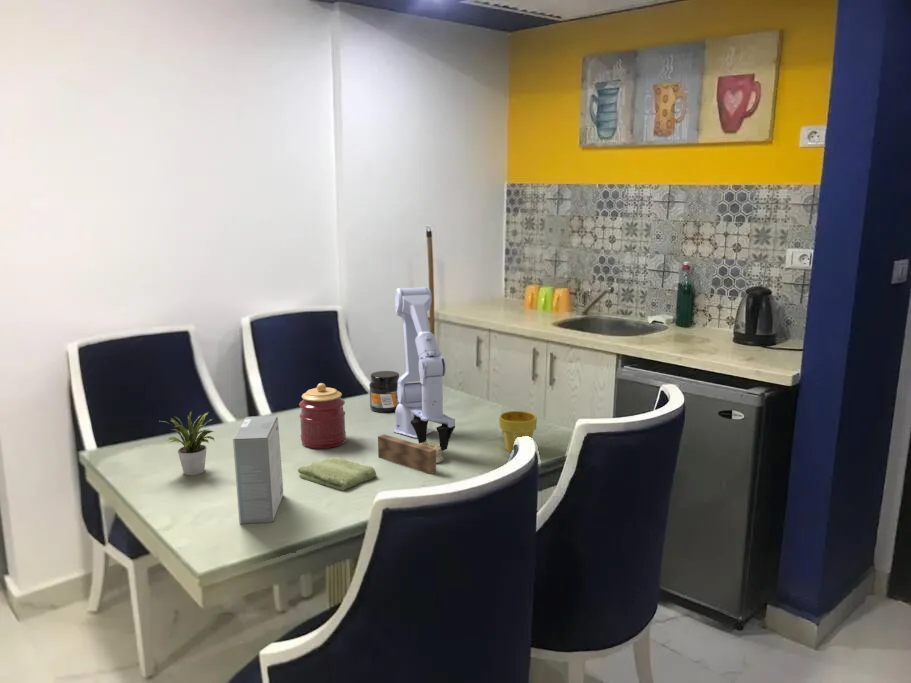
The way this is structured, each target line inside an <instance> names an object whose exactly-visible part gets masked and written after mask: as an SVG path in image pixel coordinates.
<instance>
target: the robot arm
mask: <svg viewBox="0 0 911 683" xmlns="http://www.w3.org/2000/svg"><path fill="white" fill-rule="evenodd" d="M432 298H433V297H432V291H431V289H430V288H429V287H428V286H422V287H421V286H420V287H418V286H417V287H397V288H396V290H395V292H394V304H395V307H394V308H395V313H396V316H398V317H400V318H401V321H402V326H403V341H404V355H405V356H404V357H405V358H404V360H405V373H403V374H402V375H400V376H399V379H398V387H397V397H398V401H399V404H398V405H397V407H396V411H394V412H395V413H394V414H395V416H394V417H395V429H394V430H393V433H396V434H400V435H404V436H407V437H411V438H414V439H417V441H418V443H424V442H425V441H427V435H428V434H431V433H434V429H430V428H428V424H429V422H432V423H436V424H440V425H439V426H436V428H435V429H436V431H437V435H438V438H439V440H438V441H439V446H440V447H441V451H442V452H444V451H446V450H447V449H448V445H449V443H450V438H451V436H452V434H453V431H454V430H455V429H456V419H455V418H453V417H450V416H449V415H446V414H445V413H444V402H443V401H444V395H443V392H444V391H443V390H444V388H443V383H444V382H443V380H444V379H443V378H444V376H445V375H446V362H445V358H444V356H443V355H442V352H440V350H439V347H438V343H437V338H436V336H435V333H432V332H431V329H430V328H431V327H430V322H429V314H428V312H429V311H430V308H431V305H432ZM425 443H427V442H425Z"/></svg>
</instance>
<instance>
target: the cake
mask: <svg viewBox="0 0 911 683" xmlns="http://www.w3.org/2000/svg"><path fill="white" fill-rule="evenodd" d="M425 442H426V443H425ZM425 442H424V443H419V442H418V443H417V444H419V445H422V446H426V447H429V448H433V449H436V464H439V463H442V462H443V461H444V456H442V452H443V451H441V447H440V445H438V444H436V443H432V442H428V441H427V440H426V441H425Z"/></svg>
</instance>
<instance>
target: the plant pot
mask: <svg viewBox="0 0 911 683" xmlns="http://www.w3.org/2000/svg"><path fill="white" fill-rule="evenodd" d="M537 420H538V417H537V414H534V413H532V412H528V411H526V410H525V411H523V410H510V411H505V412H503V413H501V414H500V415H499V422H498V423H499V429H500V430H501V432H502V437H503V442H504V445H505V446H504V447H505V450H506V451H507V452H509V453H513V452H512V450H513V444H514V441H515V439H516V438H517V437H522V436H529V437H531V438H533V436H534V432H535V430H536V429H537V422H538V421H537Z"/></svg>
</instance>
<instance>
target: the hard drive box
mask: <svg viewBox="0 0 911 683" xmlns="http://www.w3.org/2000/svg"><path fill="white" fill-rule="evenodd" d="M280 442H281V441H280V427H279V417H278V415H265V416H263V415H262V416H259V415H258V416H246V417H245V418H244V420H243V421H242V424H241V425H240V426H239V429H238V430H237V432H236V433H235V435H234V436H233V438H232V443H233V444H232V445H233V446H232V447H233V457H234V469H235V470H234V471H235V482H236V483H235V484H236V496H237V497H236V498H237V509H238V521H239V522H238V523H239V524H241V525H243V524H262V523H265V524H266V523H273V521H274V519H275V517H276V515H277V511H278V509H279V507H280V504H281V502H282V498H283V496H284V482H283V480H284V479H283V469H282V456H281V454H282V452H281V443H280Z"/></svg>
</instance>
